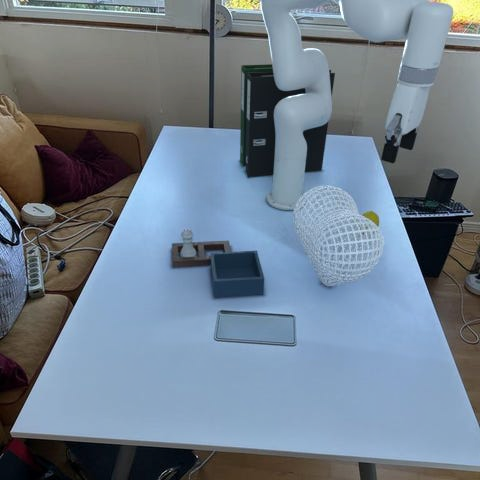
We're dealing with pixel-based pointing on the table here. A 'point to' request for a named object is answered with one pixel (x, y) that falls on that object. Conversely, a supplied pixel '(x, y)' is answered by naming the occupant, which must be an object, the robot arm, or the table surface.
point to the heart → (336, 236)
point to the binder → (270, 123)
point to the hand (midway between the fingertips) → (397, 154)
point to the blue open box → (236, 274)
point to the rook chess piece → (187, 244)
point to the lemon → (372, 217)
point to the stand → (201, 249)
